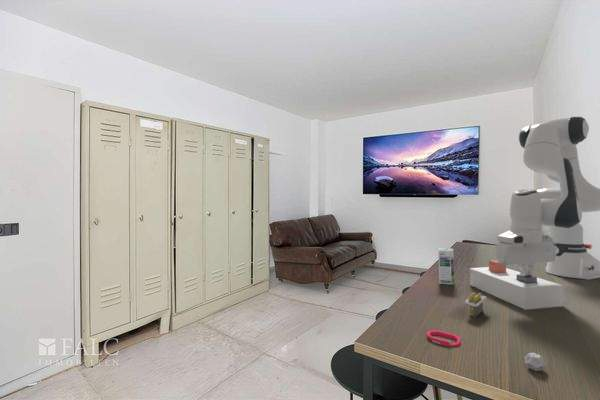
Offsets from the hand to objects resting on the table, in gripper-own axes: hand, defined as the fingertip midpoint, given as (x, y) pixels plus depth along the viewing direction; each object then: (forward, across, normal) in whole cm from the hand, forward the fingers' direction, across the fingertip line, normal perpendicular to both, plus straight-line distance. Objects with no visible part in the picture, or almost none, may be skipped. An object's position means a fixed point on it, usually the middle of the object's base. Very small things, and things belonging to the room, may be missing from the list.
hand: (526, 275), depth 103 cm
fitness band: (+10, +44, +19) cm, 49 cm away
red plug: (+3, 0, -13) cm, 14 cm away
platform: (+10, +24, +6) cm, 27 cm away
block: (+9, 0, -7) cm, 11 cm away
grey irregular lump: (+9, +32, +34) cm, 48 cm away
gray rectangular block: (+6, 0, 0) cm, 6 cm away
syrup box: (+9, +14, -25) cm, 30 cm away
